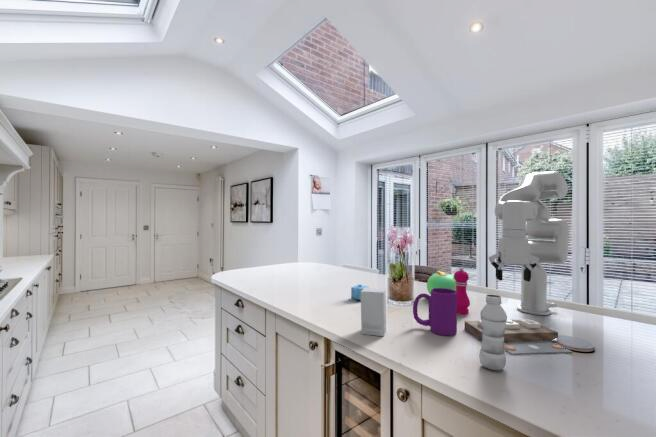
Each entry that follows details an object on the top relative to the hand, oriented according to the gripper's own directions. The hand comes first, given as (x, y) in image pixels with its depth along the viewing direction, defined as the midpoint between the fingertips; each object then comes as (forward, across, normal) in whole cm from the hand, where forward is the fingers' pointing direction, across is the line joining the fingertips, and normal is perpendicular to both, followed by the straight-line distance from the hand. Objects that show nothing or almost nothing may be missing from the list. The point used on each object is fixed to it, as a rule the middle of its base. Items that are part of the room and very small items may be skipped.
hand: (513, 280), depth 115 cm
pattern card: (+19, +1, +16) cm, 25 cm away
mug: (+19, +29, +3) cm, 35 cm away
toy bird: (+19, +13, -41) cm, 47 cm away
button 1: (+17, +11, +6) cm, 21 cm away
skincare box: (+19, +51, +8) cm, 55 cm away
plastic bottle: (+19, +20, +31) cm, 41 cm away
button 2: (+17, -5, +3) cm, 18 cm away
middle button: (+17, +3, +4) cm, 18 cm away
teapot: (+19, +56, -36) cm, 69 cm away
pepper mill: (+19, +12, -21) cm, 30 cm away
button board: (+19, +3, +4) cm, 19 cm away
